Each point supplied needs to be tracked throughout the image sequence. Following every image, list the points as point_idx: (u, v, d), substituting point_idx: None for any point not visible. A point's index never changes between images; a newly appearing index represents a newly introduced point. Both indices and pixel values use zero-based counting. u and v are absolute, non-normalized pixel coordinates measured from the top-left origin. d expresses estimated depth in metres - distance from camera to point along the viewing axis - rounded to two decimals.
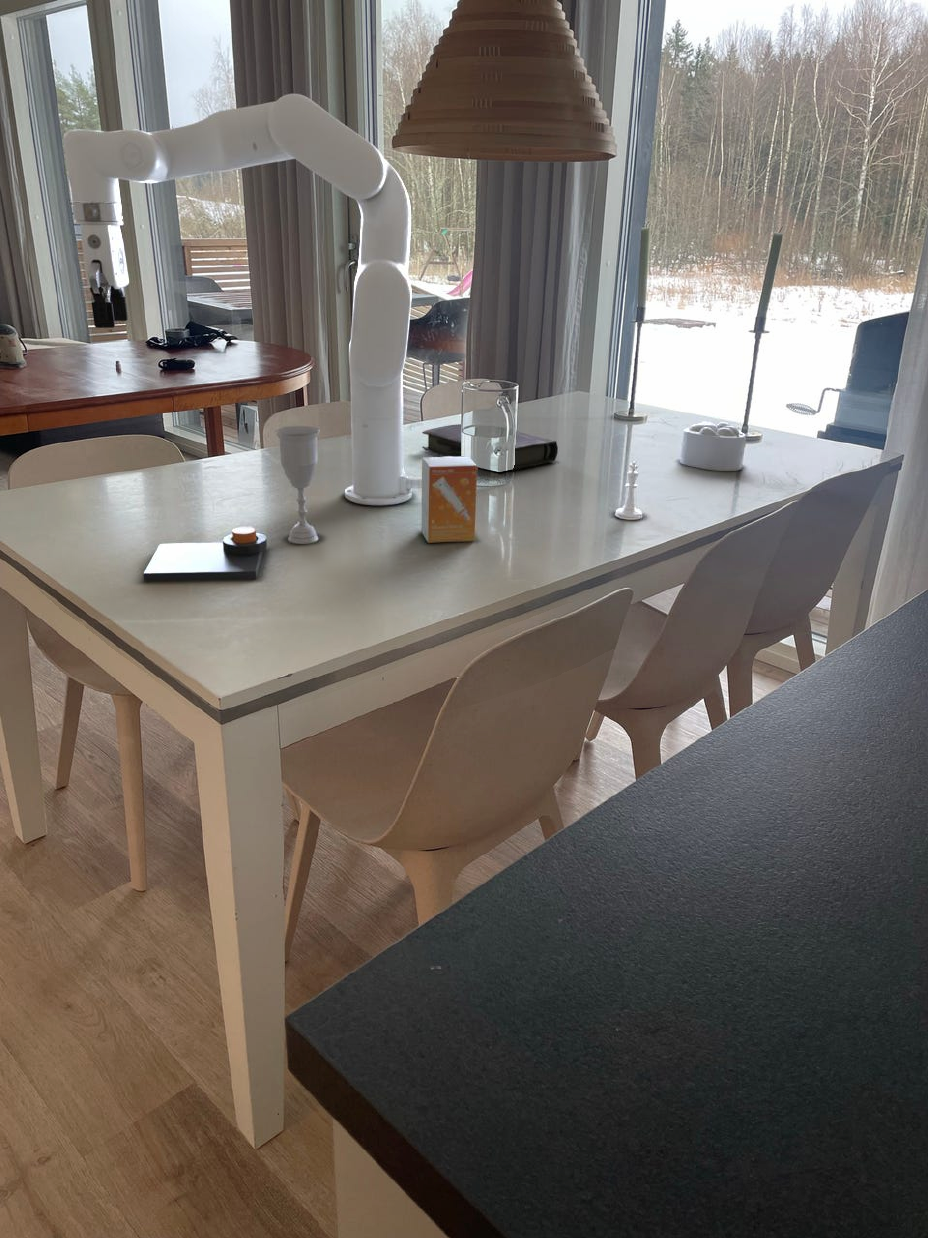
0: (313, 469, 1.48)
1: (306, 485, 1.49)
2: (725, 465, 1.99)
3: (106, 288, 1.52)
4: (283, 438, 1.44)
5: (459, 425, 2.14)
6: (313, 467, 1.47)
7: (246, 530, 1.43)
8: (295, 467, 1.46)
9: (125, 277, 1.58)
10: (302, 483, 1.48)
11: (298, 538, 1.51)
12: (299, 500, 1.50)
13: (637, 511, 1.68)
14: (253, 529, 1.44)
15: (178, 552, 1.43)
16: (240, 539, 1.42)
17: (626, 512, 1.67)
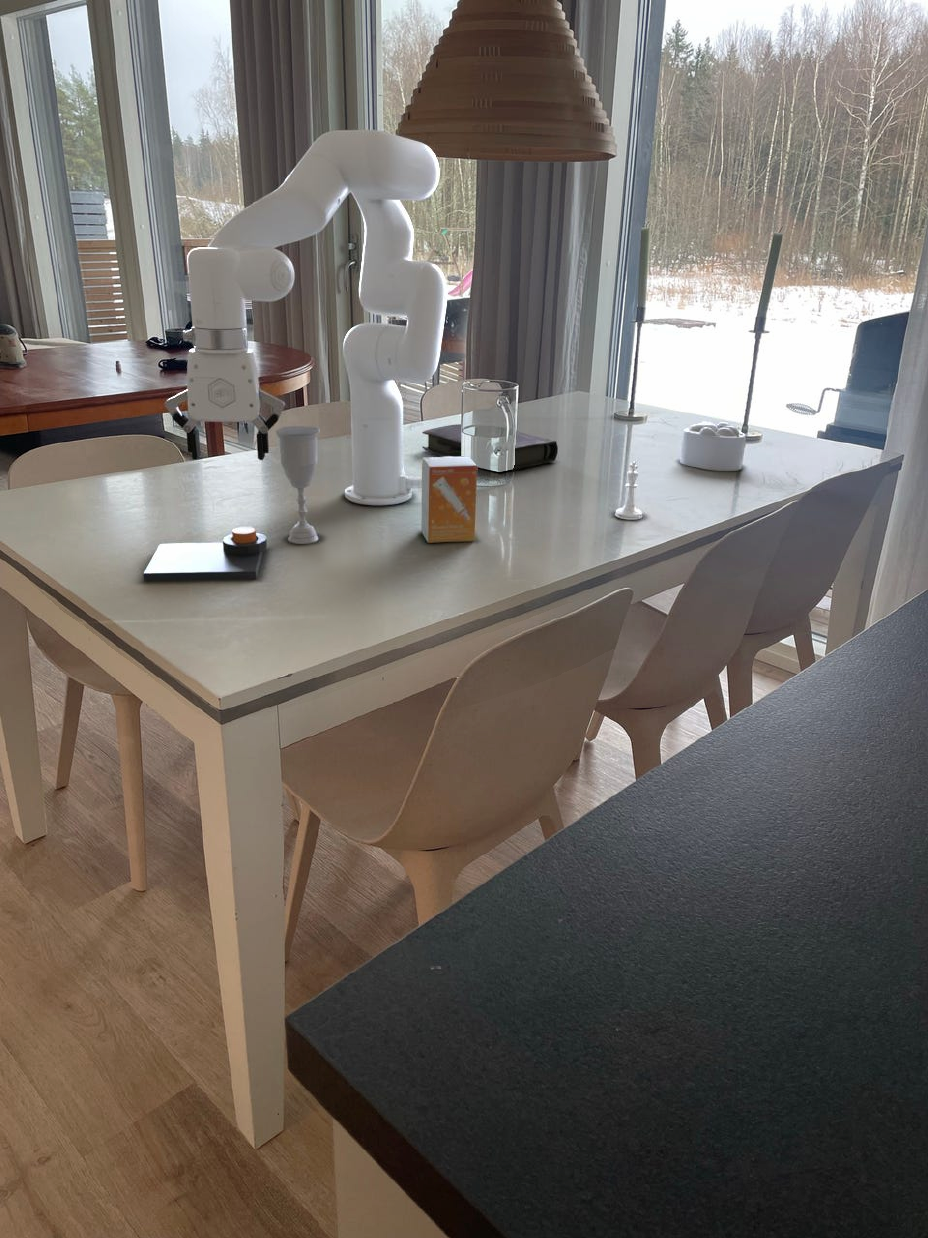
0: (313, 469, 1.48)
1: (306, 485, 1.49)
2: (725, 465, 1.99)
3: None
4: (283, 438, 1.44)
5: (459, 425, 2.14)
6: (313, 467, 1.47)
7: (246, 530, 1.43)
8: (295, 467, 1.46)
9: (234, 412, 1.35)
10: (302, 483, 1.48)
11: (298, 538, 1.51)
12: (299, 500, 1.50)
13: (637, 511, 1.68)
14: (253, 529, 1.44)
15: (178, 552, 1.43)
16: (240, 539, 1.42)
17: (626, 512, 1.67)
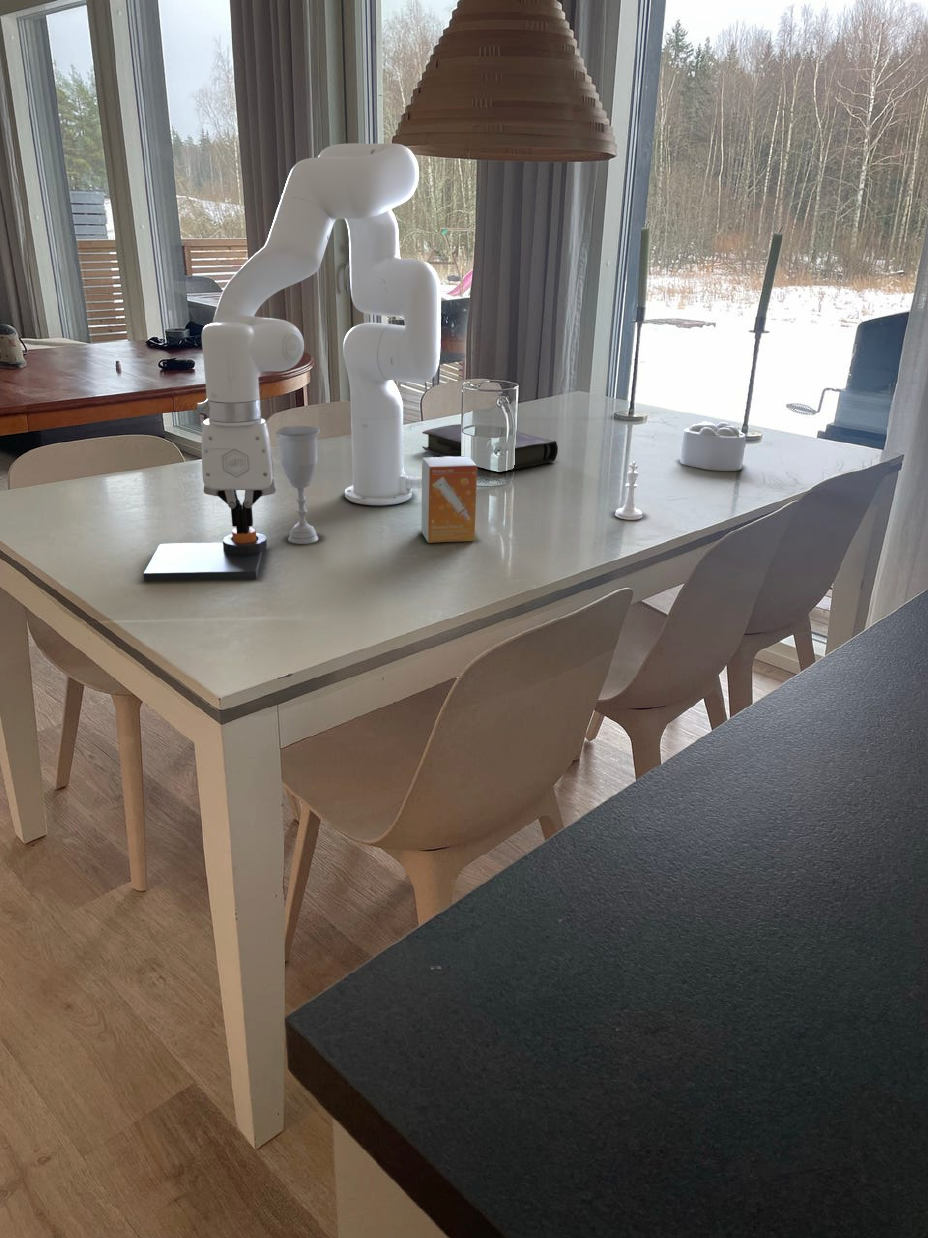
0: (313, 469, 1.48)
1: (306, 485, 1.49)
2: (725, 465, 1.99)
3: (226, 495, 1.40)
4: (283, 438, 1.44)
5: (459, 425, 2.14)
6: (313, 467, 1.47)
7: None
8: (295, 467, 1.46)
9: (248, 480, 1.38)
10: (302, 483, 1.48)
11: (298, 538, 1.51)
12: (299, 500, 1.50)
13: (637, 511, 1.68)
14: (253, 529, 1.44)
15: (178, 552, 1.43)
16: (240, 539, 1.42)
17: (626, 512, 1.67)
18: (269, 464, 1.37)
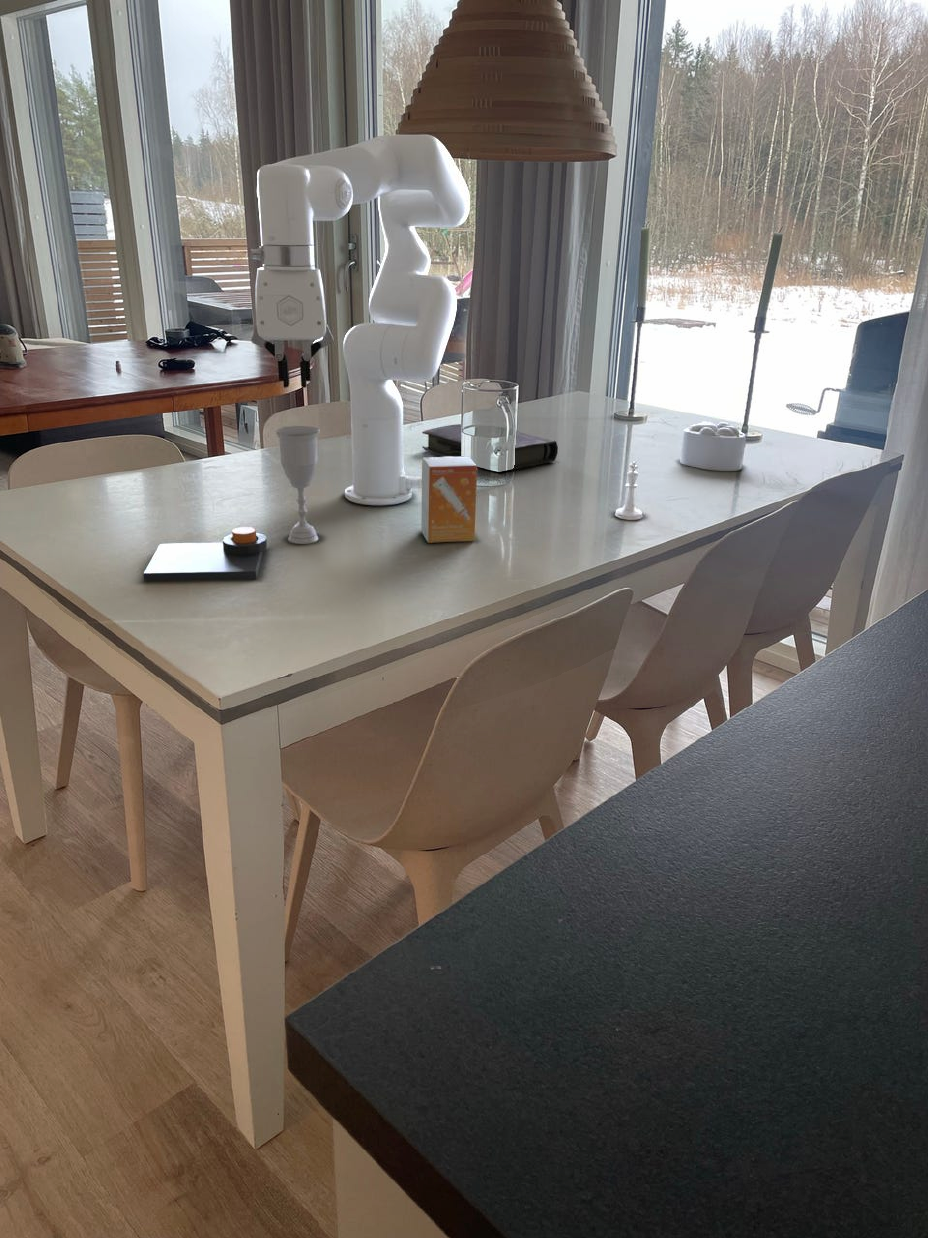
0: (313, 469, 1.48)
1: (306, 485, 1.49)
2: (725, 465, 1.99)
3: (274, 346, 1.40)
4: (283, 438, 1.44)
5: (459, 425, 2.14)
6: (313, 467, 1.47)
7: (246, 530, 1.43)
8: (295, 467, 1.46)
9: (302, 329, 1.38)
10: (302, 483, 1.48)
11: (298, 538, 1.51)
12: (299, 500, 1.50)
13: (637, 511, 1.68)
14: (253, 529, 1.44)
15: (178, 552, 1.43)
16: (240, 539, 1.42)
17: (626, 512, 1.67)
18: (323, 313, 1.37)
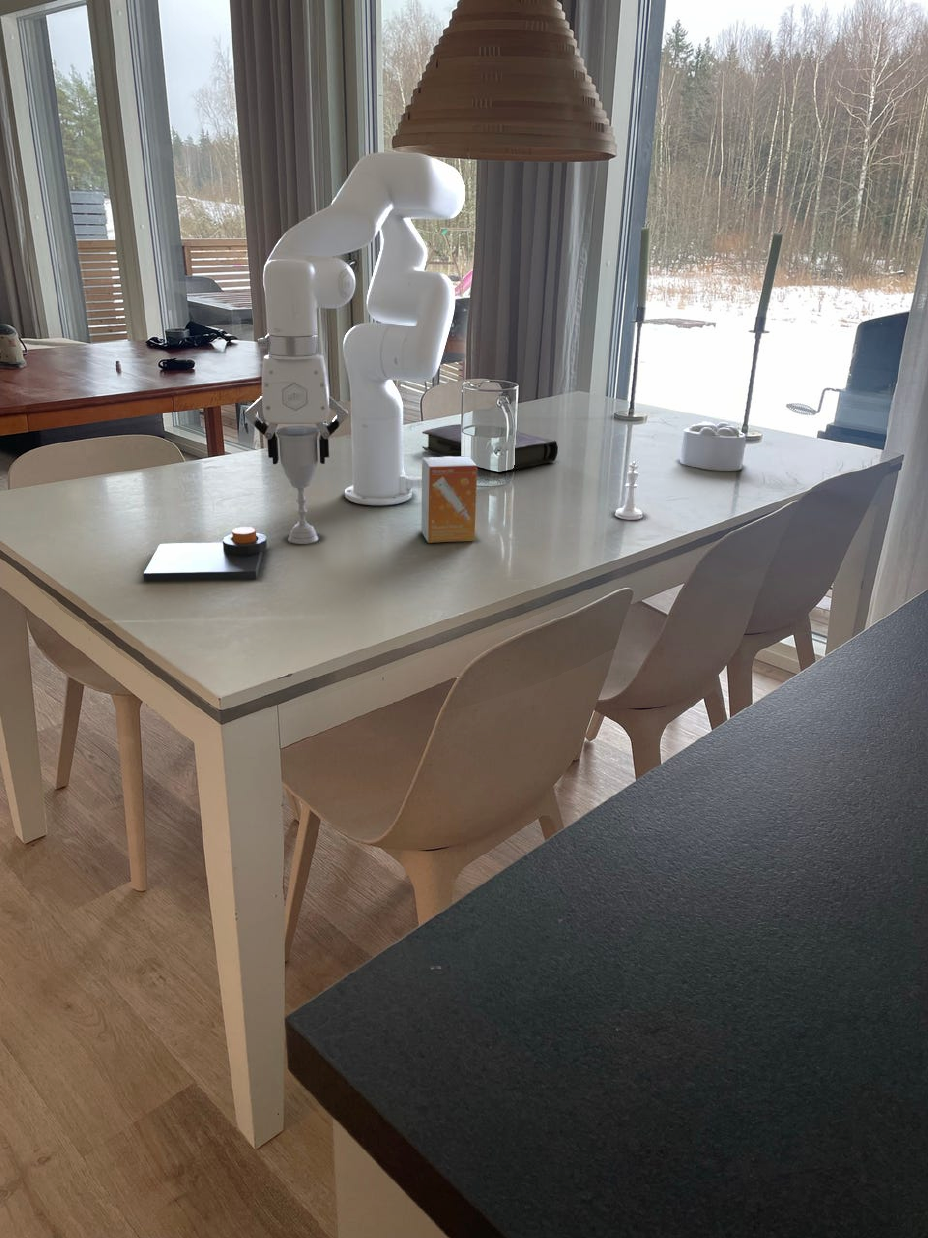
0: (313, 469, 1.48)
1: (306, 485, 1.49)
2: (725, 465, 1.99)
3: None
4: (283, 438, 1.44)
5: (459, 425, 2.14)
6: (313, 467, 1.47)
7: (246, 530, 1.43)
8: (295, 467, 1.46)
9: (306, 414, 1.43)
10: (302, 483, 1.48)
11: (298, 538, 1.51)
12: (299, 500, 1.50)
13: (637, 511, 1.68)
14: (253, 529, 1.44)
15: (178, 552, 1.43)
16: (240, 539, 1.42)
17: (626, 512, 1.67)
18: (326, 398, 1.42)
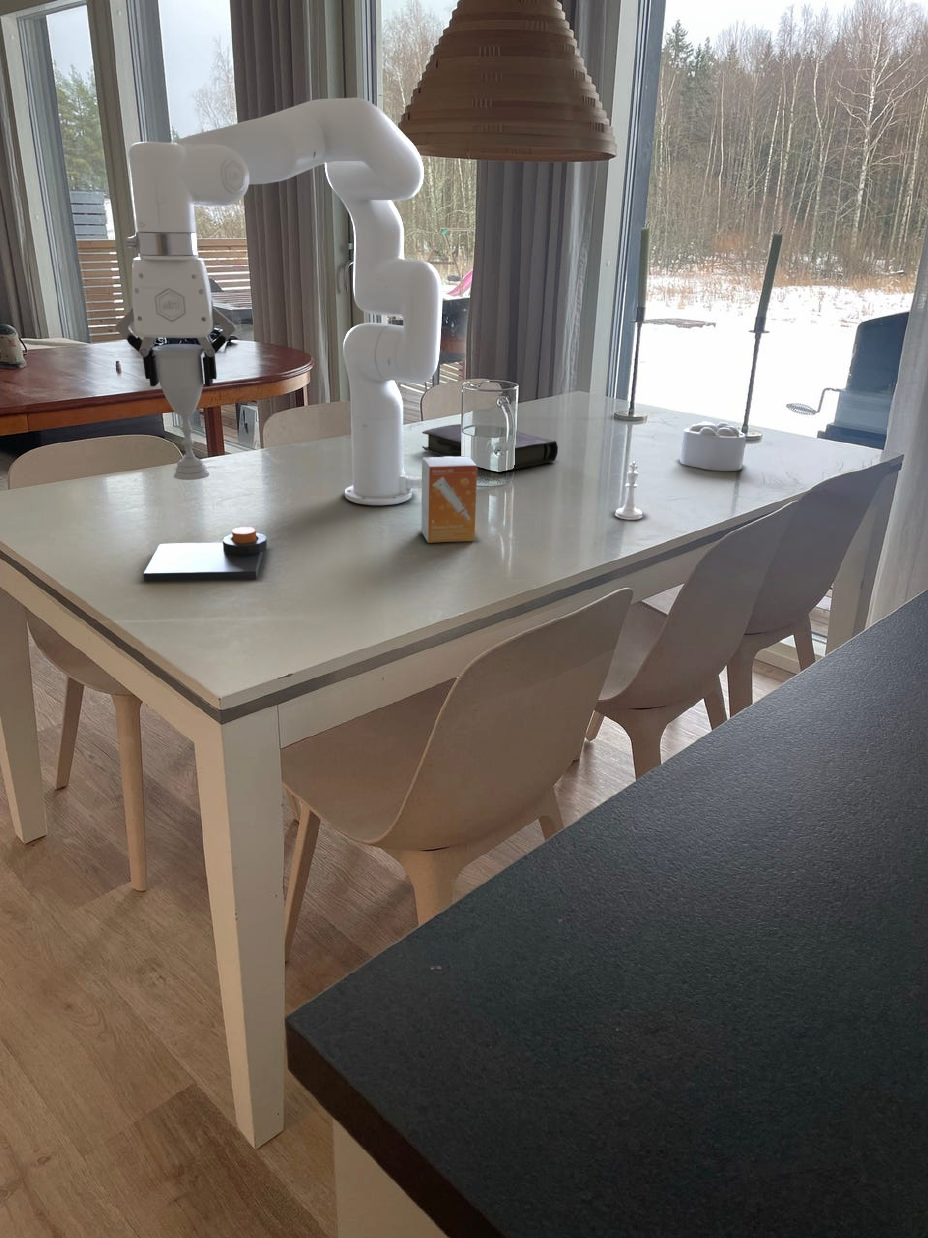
0: (197, 392, 1.29)
1: (190, 411, 1.30)
2: (725, 465, 1.99)
3: (143, 339, 1.26)
4: (160, 354, 1.26)
5: (459, 425, 2.14)
6: (197, 390, 1.29)
7: (246, 530, 1.43)
8: (175, 388, 1.27)
9: (184, 326, 1.24)
10: (185, 408, 1.30)
11: (184, 473, 1.33)
12: (184, 429, 1.32)
13: (637, 511, 1.68)
14: (253, 529, 1.44)
15: (178, 552, 1.43)
16: (240, 539, 1.42)
17: (626, 512, 1.67)
18: (208, 308, 1.24)
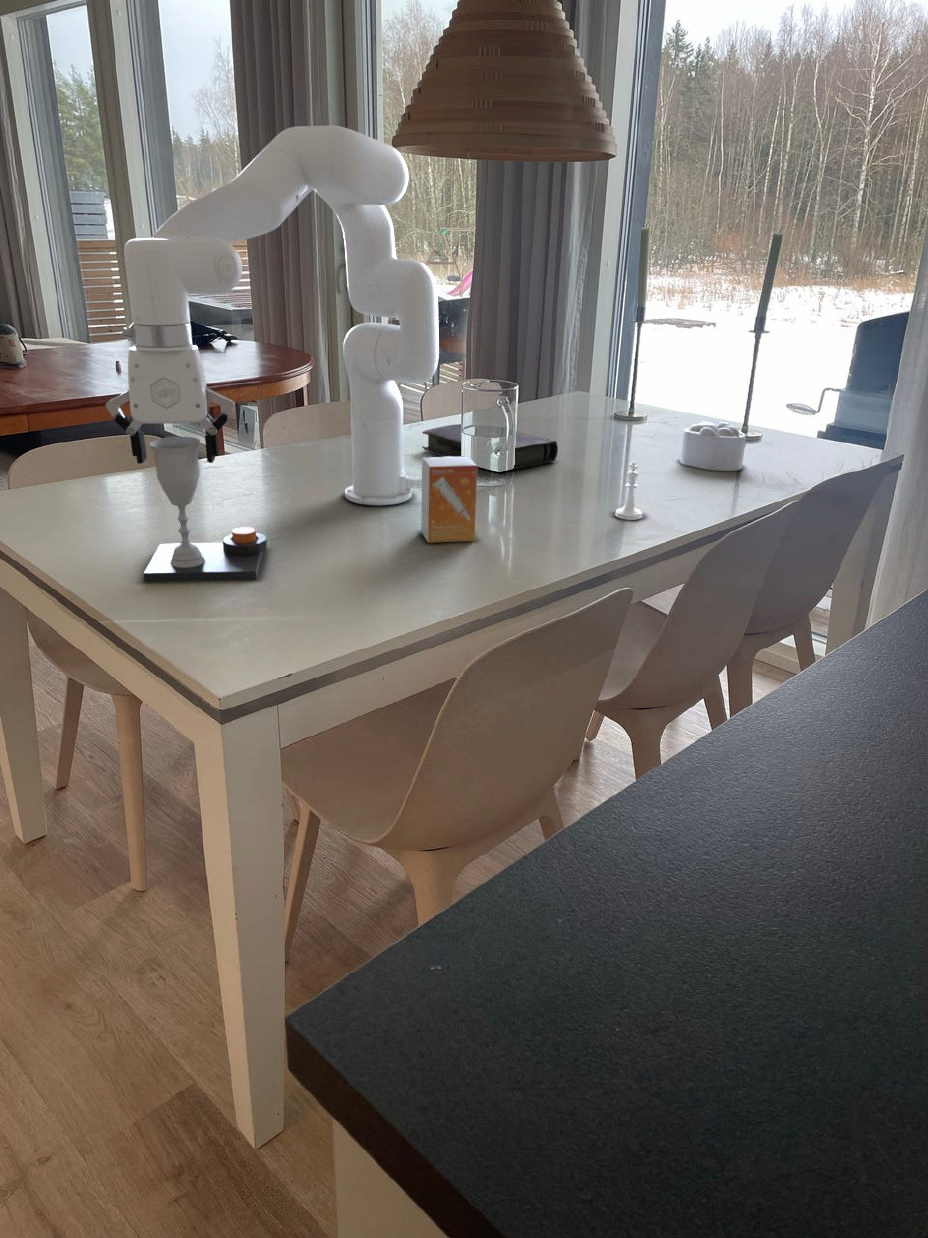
0: (193, 485, 1.33)
1: (187, 502, 1.34)
2: (725, 465, 1.99)
3: None
4: (157, 450, 1.30)
5: (459, 425, 2.14)
6: (193, 482, 1.33)
7: (246, 530, 1.43)
8: (172, 482, 1.31)
9: (179, 413, 1.27)
10: (182, 500, 1.34)
11: (180, 561, 1.37)
12: (180, 519, 1.36)
13: (637, 511, 1.68)
14: (253, 529, 1.44)
15: None
16: (240, 539, 1.42)
17: (626, 512, 1.67)
18: (202, 395, 1.27)
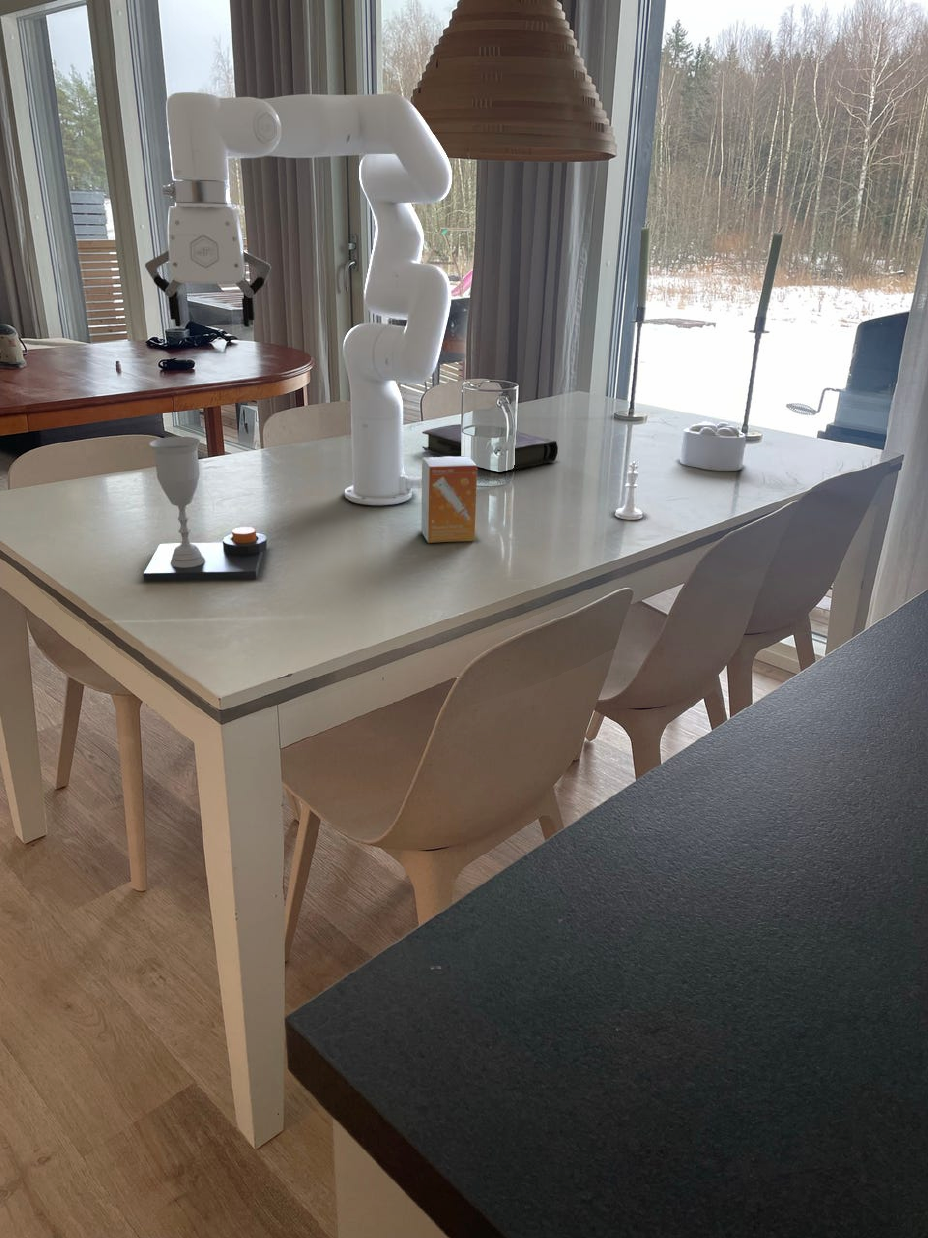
0: (193, 485, 1.33)
1: (187, 502, 1.34)
2: (725, 465, 1.99)
3: (172, 280, 1.31)
4: (157, 450, 1.30)
5: (459, 425, 2.14)
6: (193, 482, 1.33)
7: (246, 530, 1.43)
8: (172, 482, 1.31)
9: (218, 272, 1.29)
10: (182, 500, 1.34)
11: (180, 561, 1.37)
12: (180, 519, 1.36)
13: (637, 511, 1.68)
14: (253, 529, 1.44)
15: None
16: (240, 539, 1.42)
17: (626, 512, 1.67)
18: (240, 254, 1.29)
